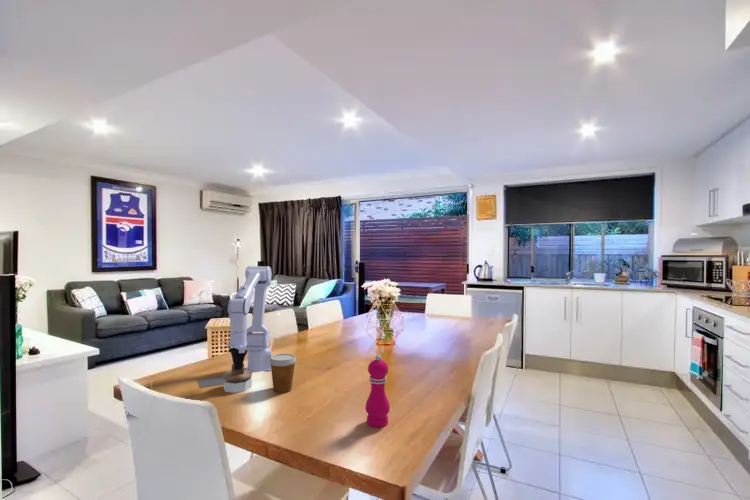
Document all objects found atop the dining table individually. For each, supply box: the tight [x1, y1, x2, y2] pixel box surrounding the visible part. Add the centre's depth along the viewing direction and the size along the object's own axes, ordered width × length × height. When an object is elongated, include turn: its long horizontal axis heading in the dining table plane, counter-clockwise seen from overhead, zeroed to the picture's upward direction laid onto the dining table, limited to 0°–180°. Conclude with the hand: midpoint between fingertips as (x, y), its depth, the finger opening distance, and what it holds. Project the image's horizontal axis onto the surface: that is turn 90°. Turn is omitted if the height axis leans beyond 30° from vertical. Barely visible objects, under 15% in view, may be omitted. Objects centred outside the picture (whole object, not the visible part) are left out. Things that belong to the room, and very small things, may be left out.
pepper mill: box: [365, 354, 391, 428], centre depth 109 cm, size 7×7×20 cm
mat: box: [197, 375, 224, 389], centre depth 140 cm, size 10×10×1 cm
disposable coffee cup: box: [269, 353, 297, 394], centre depth 134 cm, size 10×10×12 cm
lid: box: [222, 362, 253, 381], centre depth 134 cm, size 10×10×4 cm
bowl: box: [223, 377, 253, 394], centre depth 134 cm, size 9×9×4 cm
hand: (237, 368), depth 134 cm, fingers closed on lid, 2 cm apart
